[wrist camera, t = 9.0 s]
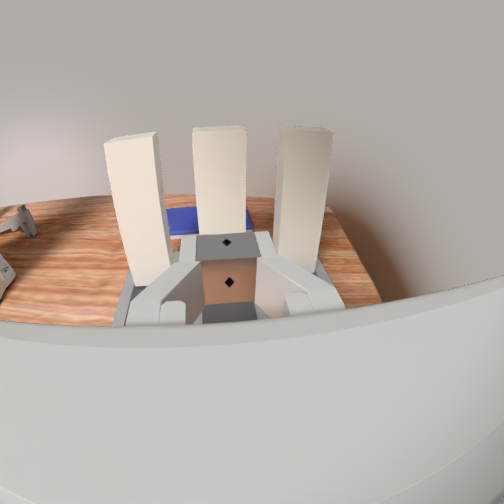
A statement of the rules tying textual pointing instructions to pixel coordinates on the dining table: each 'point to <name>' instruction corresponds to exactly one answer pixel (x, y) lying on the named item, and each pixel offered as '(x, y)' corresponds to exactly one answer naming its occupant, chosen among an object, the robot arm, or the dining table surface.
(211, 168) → the cream tall flat block
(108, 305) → the dining table surface
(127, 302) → the switch base
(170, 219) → the hard drive
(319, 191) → the cream tall block
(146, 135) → the cream tall block
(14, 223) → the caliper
